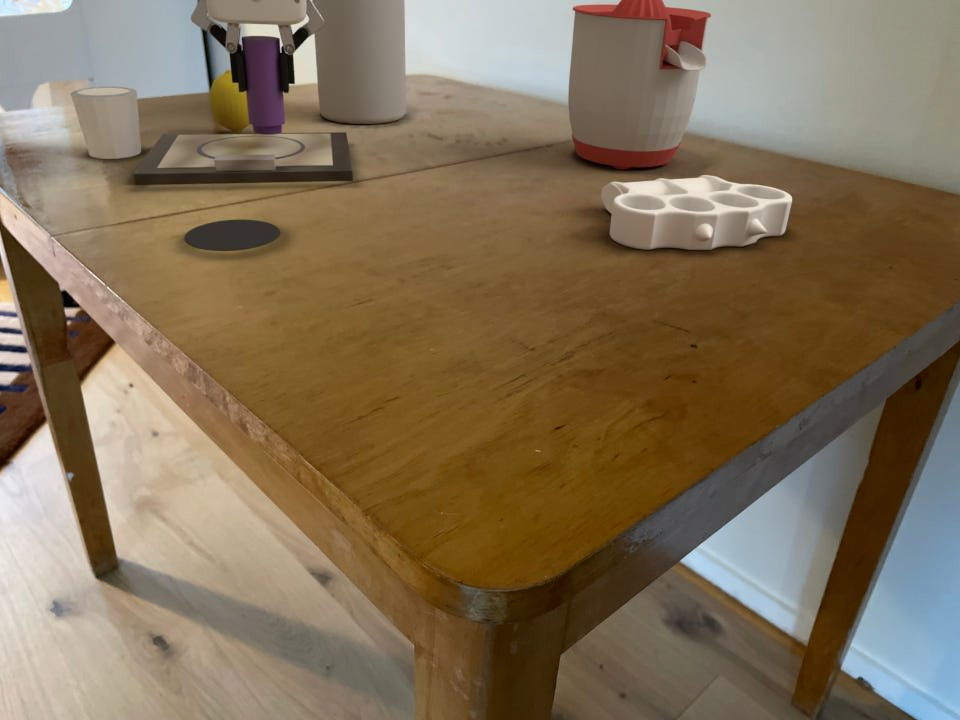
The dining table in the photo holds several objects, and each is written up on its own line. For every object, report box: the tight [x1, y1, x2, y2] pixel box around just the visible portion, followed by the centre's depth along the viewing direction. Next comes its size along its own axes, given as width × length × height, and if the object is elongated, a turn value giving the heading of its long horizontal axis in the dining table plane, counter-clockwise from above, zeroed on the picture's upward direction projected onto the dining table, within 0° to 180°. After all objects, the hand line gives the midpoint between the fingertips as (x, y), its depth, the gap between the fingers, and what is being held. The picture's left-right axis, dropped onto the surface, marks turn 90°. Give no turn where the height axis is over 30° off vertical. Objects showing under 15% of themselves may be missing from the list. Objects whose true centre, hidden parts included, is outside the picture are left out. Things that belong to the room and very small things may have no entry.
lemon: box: [209, 69, 251, 133], centre depth 100 cm, size 6×6×8 cm
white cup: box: [70, 86, 142, 160], centre depth 90 cm, size 7×7×7 cm
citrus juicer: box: [567, 0, 712, 170], centre depth 92 cm, size 16×17×20 cm
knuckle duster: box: [600, 174, 793, 251], centre depth 74 cm, size 3×18×15 cm
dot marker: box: [241, 35, 286, 135], centre depth 87 cm, size 4×4×10 cm
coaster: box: [183, 219, 281, 252], centre depth 68 cm, size 8×8×1 cm
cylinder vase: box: [312, 0, 407, 125], centre depth 108 cm, size 12×12×25 cm
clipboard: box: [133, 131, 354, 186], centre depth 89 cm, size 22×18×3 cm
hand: (264, 88), depth 87 cm, fingers closed on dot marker, 4 cm apart
